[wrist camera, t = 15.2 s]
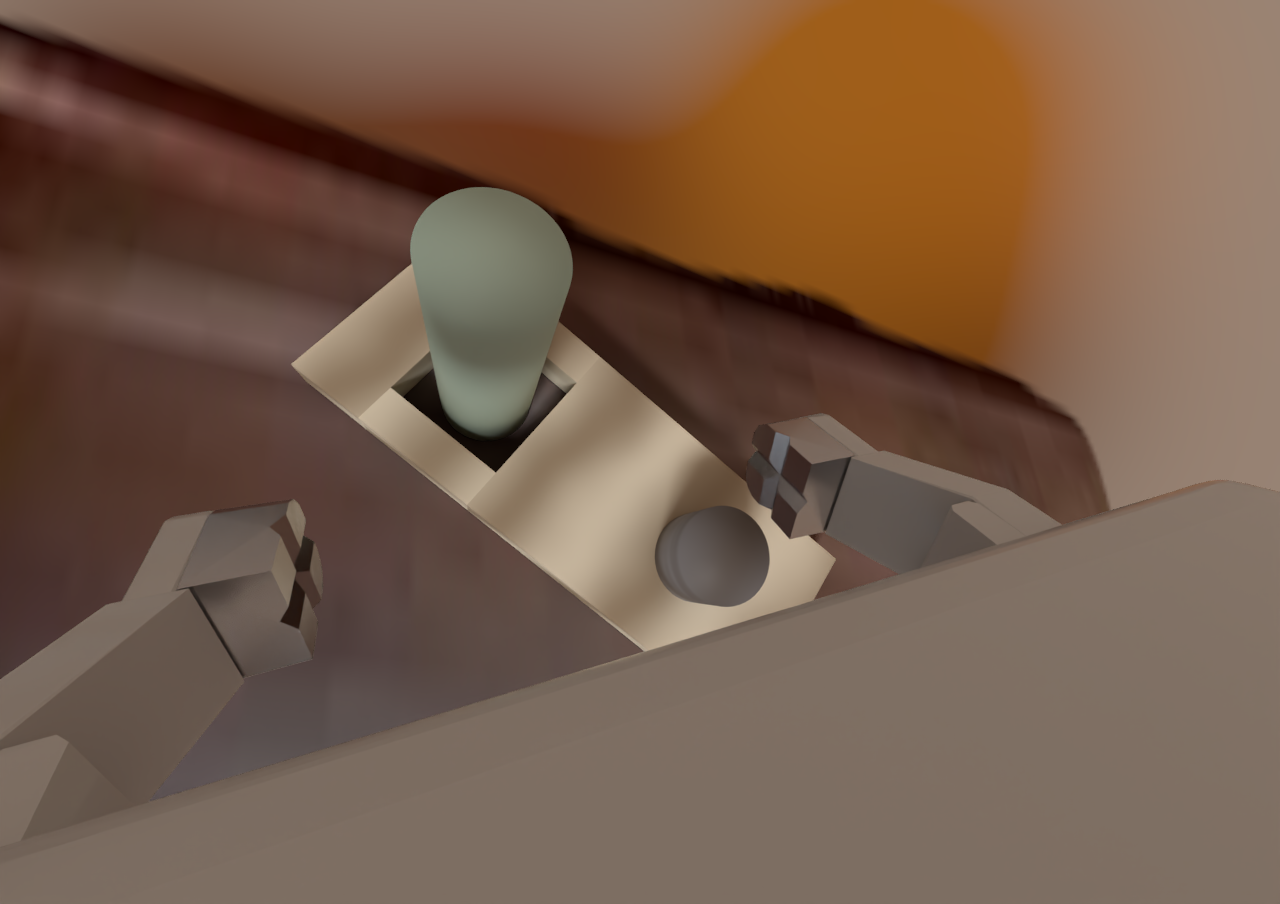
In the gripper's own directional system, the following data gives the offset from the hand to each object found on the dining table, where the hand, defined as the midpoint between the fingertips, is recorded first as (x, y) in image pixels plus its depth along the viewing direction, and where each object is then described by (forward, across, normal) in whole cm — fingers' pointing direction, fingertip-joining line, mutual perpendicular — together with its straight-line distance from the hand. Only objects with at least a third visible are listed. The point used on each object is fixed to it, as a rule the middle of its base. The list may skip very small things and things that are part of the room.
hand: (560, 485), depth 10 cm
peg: (+15, 0, +6) cm, 16 cm away
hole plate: (+12, -4, +9) cm, 16 cm away
